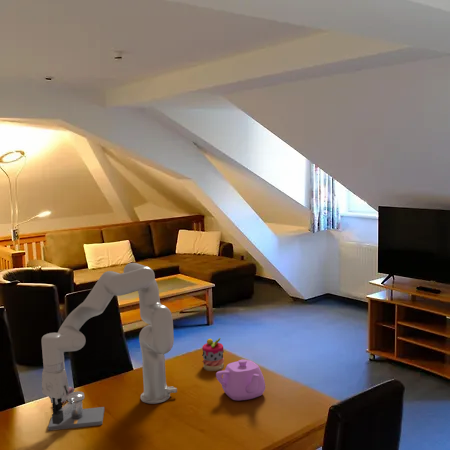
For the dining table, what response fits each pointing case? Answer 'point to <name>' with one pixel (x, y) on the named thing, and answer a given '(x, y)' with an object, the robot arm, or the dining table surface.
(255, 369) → the teapot
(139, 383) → the dining table surface
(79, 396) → the lever
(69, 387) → the video game controller
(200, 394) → the dining table surface
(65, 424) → the base plate
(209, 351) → the cake
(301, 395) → the dining table surface
